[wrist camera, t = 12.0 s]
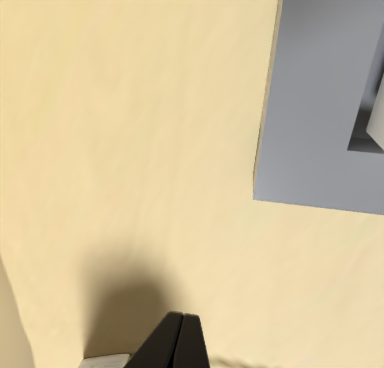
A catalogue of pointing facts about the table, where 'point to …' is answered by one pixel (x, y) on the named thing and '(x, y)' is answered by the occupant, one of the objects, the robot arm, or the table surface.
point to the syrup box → (106, 361)
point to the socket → (322, 107)
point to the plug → (377, 118)
